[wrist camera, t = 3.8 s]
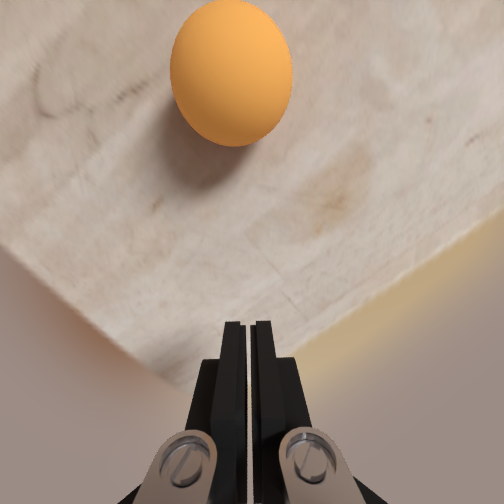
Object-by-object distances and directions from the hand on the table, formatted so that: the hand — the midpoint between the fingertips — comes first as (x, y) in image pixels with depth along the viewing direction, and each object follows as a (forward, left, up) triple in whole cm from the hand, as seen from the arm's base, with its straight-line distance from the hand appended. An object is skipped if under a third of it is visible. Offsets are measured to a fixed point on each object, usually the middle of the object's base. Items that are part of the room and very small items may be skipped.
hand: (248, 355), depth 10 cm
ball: (0, +10, -5) cm, 11 cm away
